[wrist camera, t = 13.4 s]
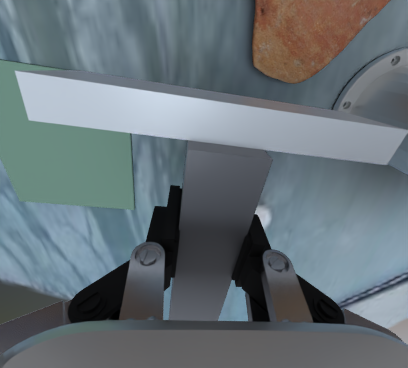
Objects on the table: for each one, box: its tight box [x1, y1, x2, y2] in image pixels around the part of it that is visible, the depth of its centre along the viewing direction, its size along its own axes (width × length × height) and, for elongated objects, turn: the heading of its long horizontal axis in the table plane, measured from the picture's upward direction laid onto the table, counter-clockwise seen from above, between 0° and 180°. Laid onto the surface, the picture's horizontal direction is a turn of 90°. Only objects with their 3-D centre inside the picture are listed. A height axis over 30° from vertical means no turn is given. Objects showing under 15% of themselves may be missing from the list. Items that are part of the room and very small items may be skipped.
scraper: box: [15, 70, 408, 321], centre depth 11 cm, size 14×14×5 cm
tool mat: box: [0, 59, 135, 210], centre depth 25 cm, size 16×18×1 cm
